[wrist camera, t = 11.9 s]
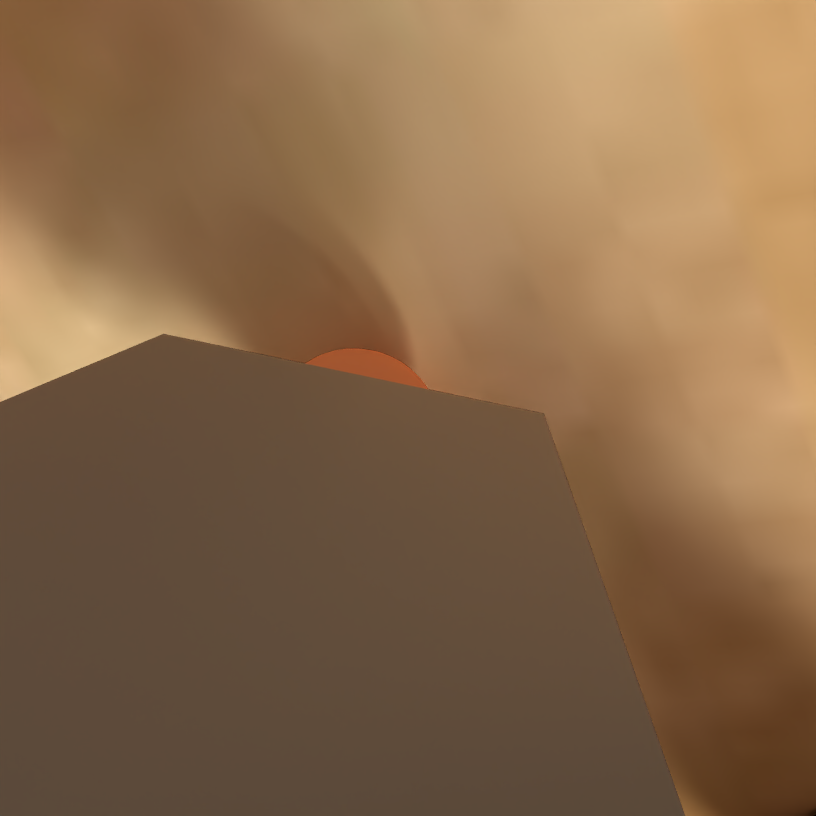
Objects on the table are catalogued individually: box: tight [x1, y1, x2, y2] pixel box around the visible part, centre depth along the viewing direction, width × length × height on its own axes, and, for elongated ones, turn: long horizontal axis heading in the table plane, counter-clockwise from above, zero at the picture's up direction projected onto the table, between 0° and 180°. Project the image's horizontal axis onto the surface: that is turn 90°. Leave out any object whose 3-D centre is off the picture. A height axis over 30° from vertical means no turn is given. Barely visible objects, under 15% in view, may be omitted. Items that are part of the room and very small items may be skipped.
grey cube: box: [0, 334, 685, 816], centre depth 8 cm, size 8×8×9 cm
